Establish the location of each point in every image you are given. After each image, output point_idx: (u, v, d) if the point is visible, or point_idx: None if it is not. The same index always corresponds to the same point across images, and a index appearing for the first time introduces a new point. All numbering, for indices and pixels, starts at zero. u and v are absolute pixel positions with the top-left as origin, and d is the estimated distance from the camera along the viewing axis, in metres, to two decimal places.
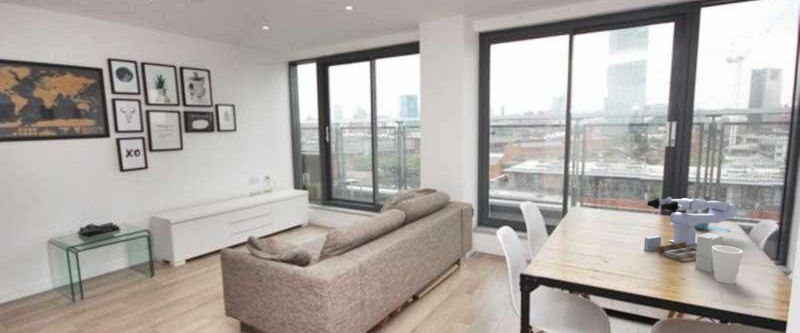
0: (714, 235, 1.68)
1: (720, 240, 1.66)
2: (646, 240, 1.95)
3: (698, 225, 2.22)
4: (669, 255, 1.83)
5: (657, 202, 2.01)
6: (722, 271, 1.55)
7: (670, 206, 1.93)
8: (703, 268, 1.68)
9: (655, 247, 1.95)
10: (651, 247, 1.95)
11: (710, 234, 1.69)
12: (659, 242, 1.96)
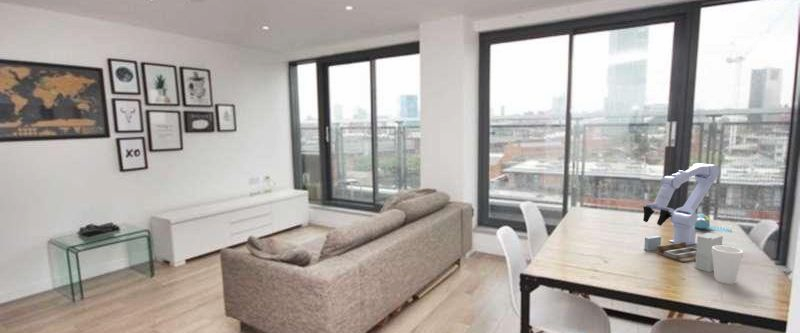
0: (714, 235, 1.68)
1: (720, 240, 1.66)
2: (646, 240, 1.95)
3: (699, 225, 2.22)
4: (669, 255, 1.83)
5: (649, 210, 1.99)
6: (722, 271, 1.55)
7: (663, 216, 1.91)
8: (703, 268, 1.68)
9: (655, 247, 1.95)
10: (651, 247, 1.95)
11: (710, 234, 1.69)
12: (659, 242, 1.96)
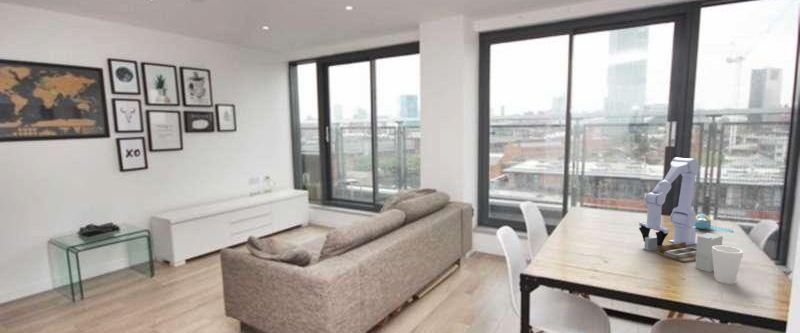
0: (714, 235, 1.68)
1: (720, 240, 1.66)
2: (646, 240, 1.95)
3: (700, 225, 2.21)
4: (669, 255, 1.83)
5: (645, 230, 1.99)
6: (722, 271, 1.55)
7: None
8: (703, 268, 1.68)
9: (655, 247, 1.95)
10: (651, 247, 1.95)
11: (710, 234, 1.69)
12: None
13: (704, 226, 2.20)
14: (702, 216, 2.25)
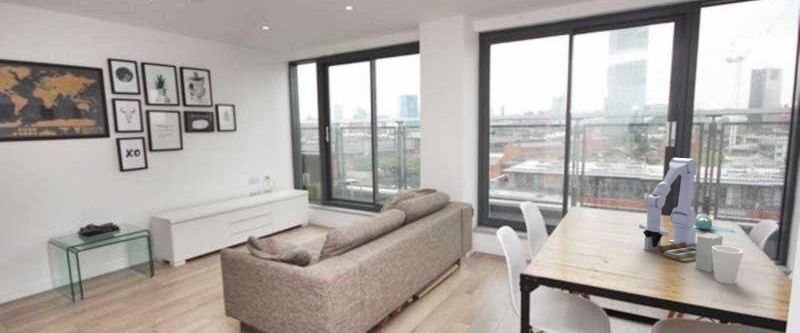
0: (714, 235, 1.68)
1: (720, 240, 1.66)
2: (646, 240, 1.95)
3: (702, 225, 2.21)
4: (669, 255, 1.83)
5: (650, 233, 1.96)
6: (722, 271, 1.55)
7: None
8: (703, 268, 1.68)
9: (655, 247, 1.95)
10: (651, 247, 1.95)
11: (710, 234, 1.69)
12: (659, 242, 1.96)
13: (705, 226, 2.20)
14: (703, 216, 2.24)
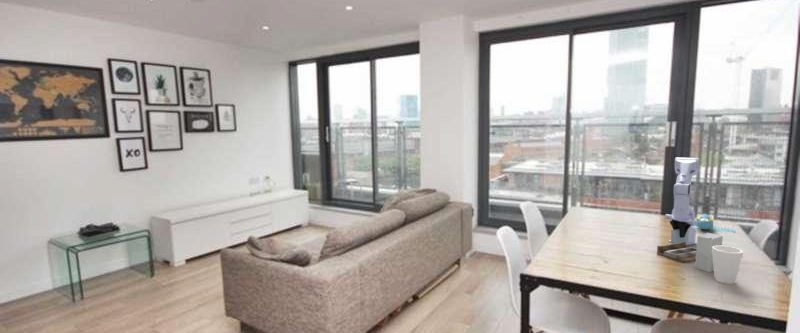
0: (714, 235, 1.68)
1: (720, 240, 1.66)
2: (673, 232, 1.86)
3: (703, 226, 2.20)
4: (669, 255, 1.83)
5: (677, 223, 1.88)
6: (722, 271, 1.55)
7: None
8: (703, 268, 1.68)
9: (682, 240, 1.87)
10: (678, 240, 1.86)
11: (710, 234, 1.69)
12: (686, 235, 1.87)
13: (706, 227, 2.20)
14: (704, 216, 2.24)
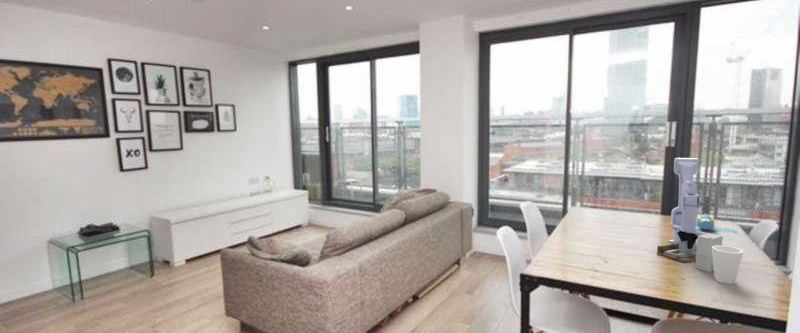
0: (714, 235, 1.68)
1: (720, 240, 1.66)
2: (681, 244, 1.84)
3: (704, 226, 2.20)
4: (669, 255, 1.83)
5: (684, 235, 1.86)
6: (722, 271, 1.55)
7: None
8: (703, 268, 1.68)
9: None
10: (686, 251, 1.84)
11: (710, 234, 1.69)
12: (694, 246, 1.86)
13: (707, 227, 2.19)
14: (705, 217, 2.24)
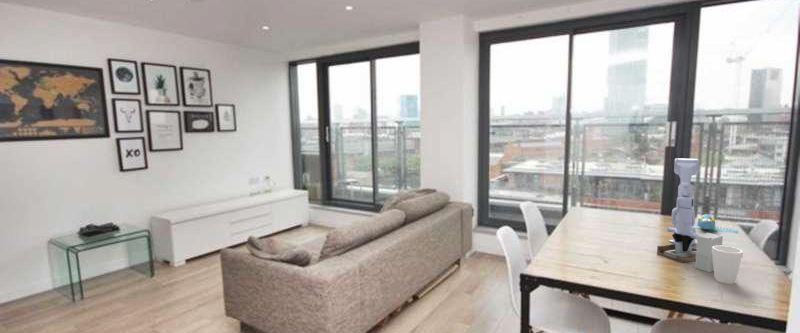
0: (714, 235, 1.68)
1: (720, 240, 1.66)
2: (677, 245, 1.84)
3: (704, 226, 2.20)
4: (669, 255, 1.83)
5: (679, 237, 1.85)
6: (722, 271, 1.55)
7: None
8: (703, 268, 1.68)
9: None
10: (683, 252, 1.84)
11: (710, 234, 1.69)
12: (690, 247, 1.85)
13: (708, 227, 2.19)
14: (706, 217, 2.23)
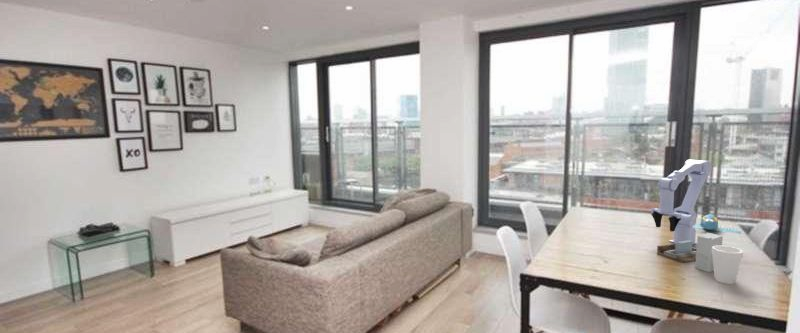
0: (714, 235, 1.68)
1: (720, 240, 1.66)
2: (677, 245, 1.84)
3: (707, 226, 2.19)
4: (669, 255, 1.83)
5: (658, 215, 1.99)
6: (722, 271, 1.55)
7: None
8: (703, 268, 1.68)
9: None
10: (683, 252, 1.84)
11: (710, 234, 1.69)
12: (690, 247, 1.85)
13: (711, 227, 2.18)
14: (709, 217, 2.23)
